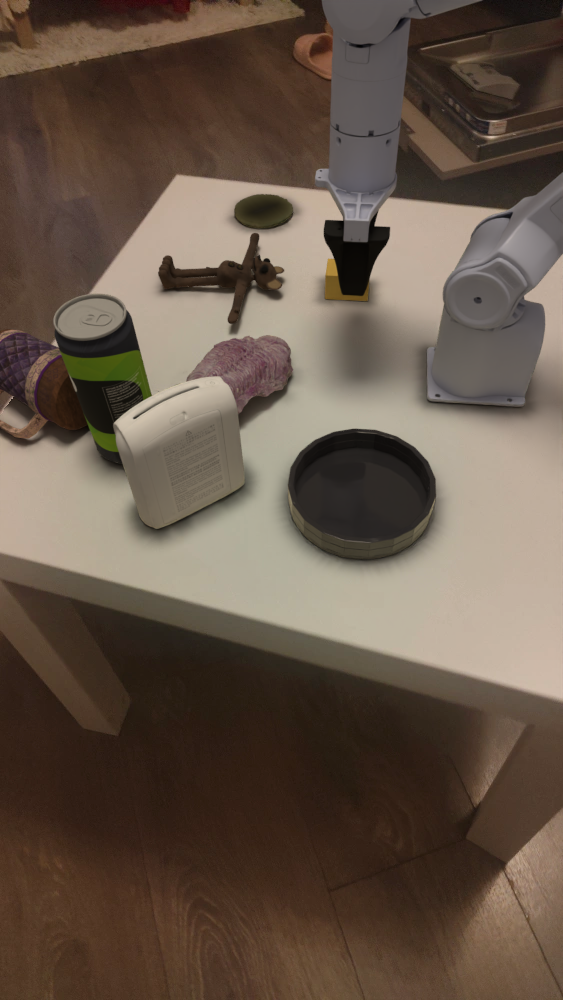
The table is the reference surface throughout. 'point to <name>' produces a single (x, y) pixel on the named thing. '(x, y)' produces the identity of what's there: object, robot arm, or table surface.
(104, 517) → the table surface
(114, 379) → the beverage can
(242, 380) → the fossil
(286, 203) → the olive green flat disc
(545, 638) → the table surface
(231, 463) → the photo printer
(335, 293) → the cheese
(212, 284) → the bear figurine
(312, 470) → the pan
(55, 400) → the mug
